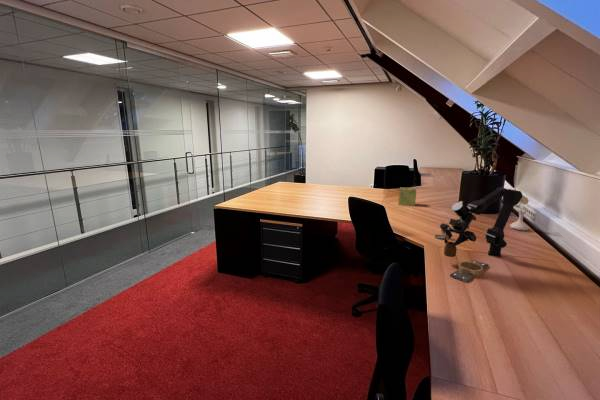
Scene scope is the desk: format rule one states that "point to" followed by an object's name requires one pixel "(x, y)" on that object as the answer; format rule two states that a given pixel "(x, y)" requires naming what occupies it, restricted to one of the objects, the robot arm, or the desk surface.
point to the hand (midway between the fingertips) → (449, 244)
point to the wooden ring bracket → (468, 274)
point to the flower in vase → (521, 216)
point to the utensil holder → (449, 248)
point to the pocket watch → (441, 235)
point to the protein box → (407, 196)
